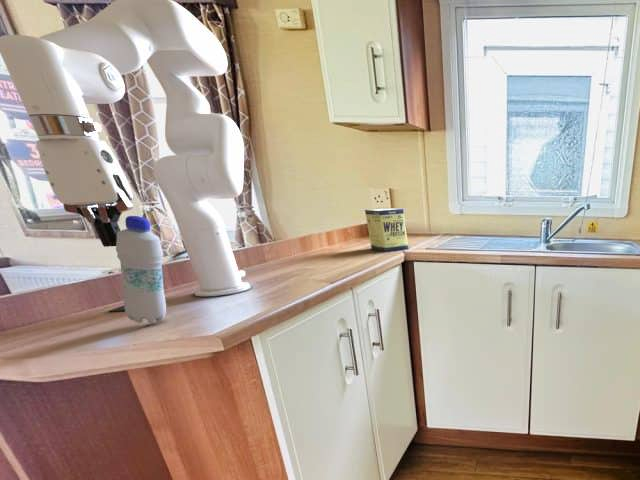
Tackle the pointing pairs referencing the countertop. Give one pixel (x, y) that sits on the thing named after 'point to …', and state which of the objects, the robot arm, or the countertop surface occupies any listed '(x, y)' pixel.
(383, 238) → the protein box
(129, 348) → the countertop surface
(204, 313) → the countertop surface
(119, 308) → the bottle marker
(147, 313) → the bottle
